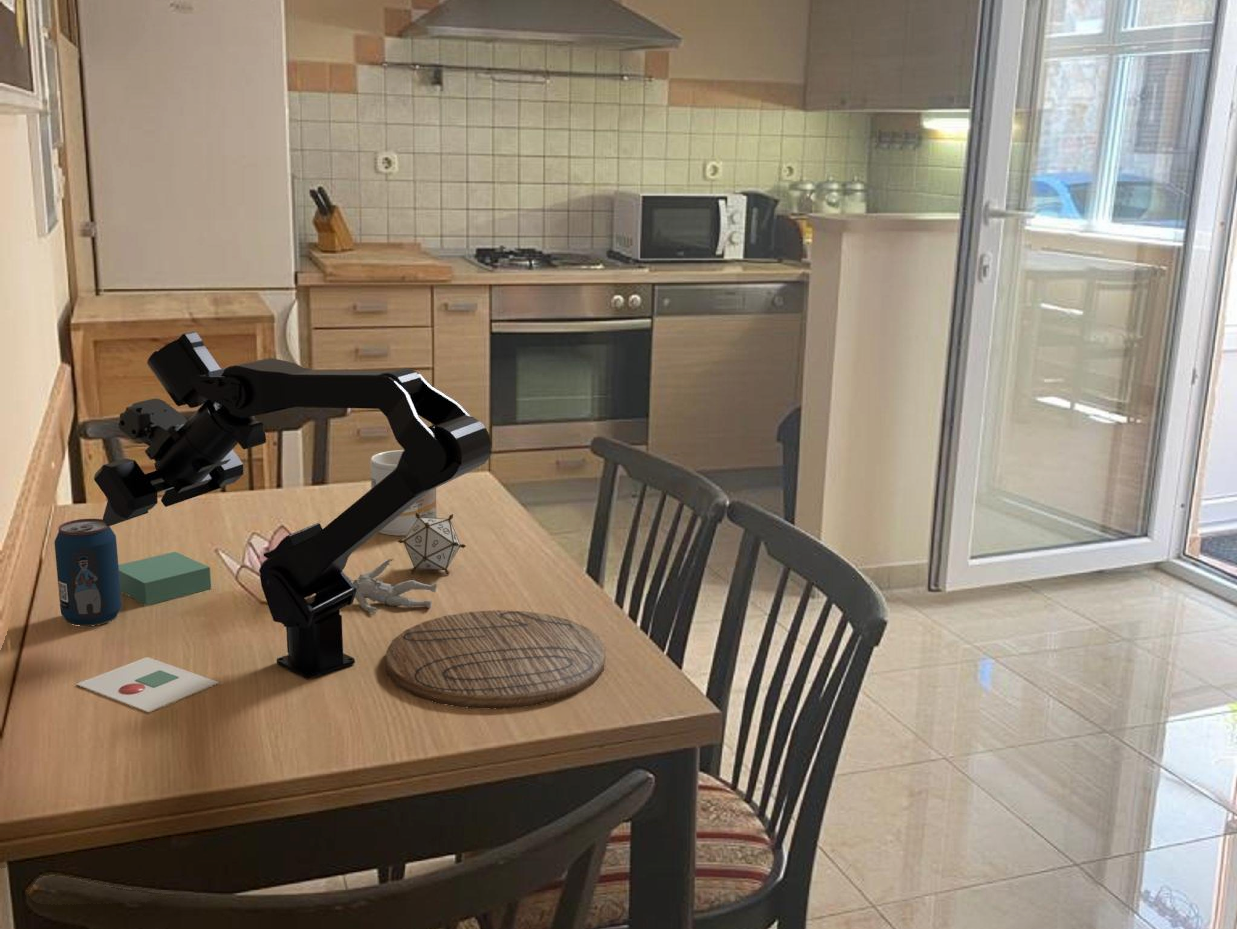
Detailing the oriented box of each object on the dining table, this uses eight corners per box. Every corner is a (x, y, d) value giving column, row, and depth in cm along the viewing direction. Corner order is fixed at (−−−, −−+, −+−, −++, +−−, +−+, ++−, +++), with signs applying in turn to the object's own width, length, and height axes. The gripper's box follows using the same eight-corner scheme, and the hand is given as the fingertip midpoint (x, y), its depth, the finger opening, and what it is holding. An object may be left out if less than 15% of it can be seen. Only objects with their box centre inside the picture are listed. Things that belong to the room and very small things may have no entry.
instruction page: (218, 683, 137) (218, 681, 136) (148, 713, 129) (148, 710, 129) (147, 658, 143) (147, 656, 143) (76, 685, 135) (76, 682, 135)
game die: (444, 592, 177) (484, 534, 177) (429, 591, 168) (472, 530, 169) (393, 556, 178) (434, 498, 178) (377, 553, 169) (419, 492, 170)
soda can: (104, 604, 159) (96, 513, 156) (133, 617, 155) (126, 524, 152) (50, 619, 154) (41, 525, 151) (79, 633, 150) (71, 537, 147)
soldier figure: (424, 625, 157) (331, 597, 156) (419, 639, 161) (329, 611, 160) (442, 571, 161) (351, 542, 160) (436, 585, 165) (348, 558, 164)
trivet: (369, 637, 151) (368, 623, 151) (565, 615, 160) (566, 601, 159) (410, 726, 129) (410, 709, 128) (637, 694, 137) (638, 678, 137)
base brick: (211, 588, 165) (209, 567, 165) (146, 605, 159) (144, 583, 158) (172, 570, 172) (170, 549, 171) (108, 585, 166) (106, 564, 165)
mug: (356, 531, 191) (354, 461, 188) (392, 510, 202) (391, 444, 199) (419, 539, 188) (418, 467, 185) (452, 517, 199) (451, 449, 197)
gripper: (223, 368, 150) (154, 442, 157) (103, 395, 134) (32, 476, 141) (276, 443, 150) (205, 514, 157) (162, 478, 133) (88, 556, 140)
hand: (135, 512), depth 149 cm, fingers open, 9 cm apart
